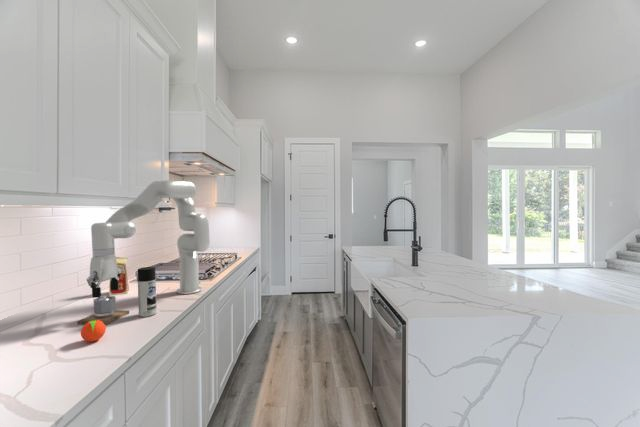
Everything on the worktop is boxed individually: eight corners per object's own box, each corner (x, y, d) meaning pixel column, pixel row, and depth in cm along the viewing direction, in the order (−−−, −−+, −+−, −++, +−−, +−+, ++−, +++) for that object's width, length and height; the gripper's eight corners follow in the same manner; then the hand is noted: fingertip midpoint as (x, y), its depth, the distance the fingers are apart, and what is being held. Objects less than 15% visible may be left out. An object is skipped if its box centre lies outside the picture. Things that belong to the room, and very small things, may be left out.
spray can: (148, 317, 127) (147, 269, 127) (134, 316, 129) (133, 269, 128) (159, 312, 134) (159, 266, 133) (146, 311, 135) (145, 266, 135)
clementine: (106, 342, 104) (105, 322, 104) (80, 348, 100) (79, 326, 100) (105, 335, 110) (105, 315, 110) (81, 339, 106) (81, 319, 106)
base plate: (102, 312, 134) (102, 310, 134) (129, 313, 133) (129, 310, 133) (77, 324, 121) (77, 321, 121) (106, 324, 120) (106, 321, 120)
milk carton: (109, 295, 160) (108, 257, 159) (109, 291, 168) (109, 255, 167) (129, 293, 165) (129, 256, 164) (129, 289, 173) (128, 253, 172)
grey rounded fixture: (103, 312, 130) (102, 296, 130) (117, 312, 130) (117, 296, 130) (90, 318, 124) (90, 301, 124) (106, 318, 123) (105, 301, 123)
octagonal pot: (103, 307, 131) (103, 295, 131) (119, 307, 130) (119, 296, 130) (89, 313, 124) (89, 301, 123) (106, 313, 123) (106, 301, 123)
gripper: (110, 249, 135) (112, 287, 136) (77, 256, 118) (79, 300, 119) (127, 249, 135) (128, 287, 136) (95, 256, 118) (98, 300, 118)
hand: (106, 293), depth 127 cm, fingers open, 9 cm apart
